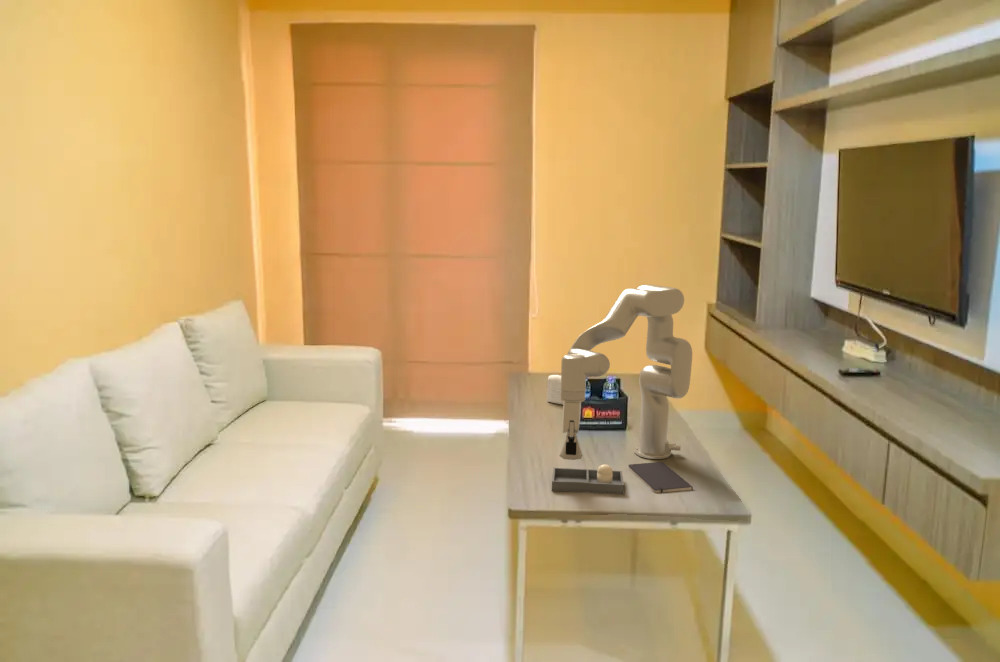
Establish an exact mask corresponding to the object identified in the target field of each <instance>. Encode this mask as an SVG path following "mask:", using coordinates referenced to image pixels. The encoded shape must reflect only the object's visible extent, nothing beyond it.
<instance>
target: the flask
mask: <svg viewBox="0 0 1000 662" xmlns="http://www.w3.org/2000/svg"><path fill="white" fill-rule="evenodd" d="M568 432H570V430H569V428H568ZM574 432H575V431H574ZM569 435H570V434H569ZM573 436H574V435H573ZM566 442H567V437H566V436H565V440H564V443H563V446H562V448H561V451H560V454H559V457H560V458H562V459H563V460H568V461H569V460H571V461H575V460H581V459H582V457H583V453H582V450H581V447H580V444H579V442H578V438H577V437H576V442H577V444H576V455H567V454H566Z"/></svg>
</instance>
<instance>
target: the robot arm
mask: <svg viewBox="0 0 1000 662" xmlns="http://www.w3.org/2000/svg"><path fill="white" fill-rule="evenodd" d="M684 304H685V295H684V293H683V292H682V290H680V289H679V288H677V287H671V286H670V287H669V286H662V285H656V284H642V285H638V287H637V288H632V287H631V288H629V287H628V288H626V289H624V290H623V291H622V292H620V294H619V296H618V297H617V299H616V300H615V302H614V303H613V305H612V306H611V308H610V309H609V311H608V312H607V314H606V315H605V316H604V318H603V319H602V320H601V321H600V322H598V323H596V324H594V325H593V326H591V327H589V328H588V329H586V330H585V331H583V332H581V334H580V335H578V337H577V338H576V339H575V340H574V342H573V343H572V345H571V346H570V348H569V350H568V351H567V354H565V355H563V356H562V358H561V367H560V371H561V374H560V375H561V397H560V399H561V400H562V401H564V404H563V407H562V431H561V432H562V433H563V434H565V433H566V436H565V438H566V437H567V442H566V454H567V455H576V444H577V442H576V437H577V434H578V433H579V429H580V422H581V411H582V403H583V402H585V401H586V387H587V386H586V385H587V384H586V383H587V382H586V381H587V379H586V378H600V377H602V376H604V375H606V374H607V372H608V371H609V370H610V365H611V362H610V359H609V358H608V356H606V355H605V354H603V353H601V352H597V351H594V350H592V349H594V348H595V347H597V346H598V345H601V344H603V343H604V344H605V343H607V342H612V341H616V340H620V339H622V338H624V337H625V336H626V335H627V333H628V332H629V330H630V329H631V327H632V326H633V324H634V322H635V321H636V319H637V318H638V317H639V316H640V317H645V318H646V320H647V332H646V335H647V336H646V344H645V345H646V347H645V351H646V353H645V354H646V357H647V359H649V360H651V361H653V362H656V363H660V364H663V365H668V366H669V365H670V367H666V366H662V365H658V364H649V365H645V366H644V367H643V368H642V369H641V370H640V373H639V376H638V379H639V380H638V383H639V384H638V385H639V390H640V418H639V419H640V420H639V422H640V423H639V439H638V440H639V441H638V445H636V446H635V447H634V448H633V449H634V454H636V455H637V456H638V457H641V458H645V459H649V460H662V459H667V458H669V457H671V456H672V451H675V452H676V451H681V444H677V443H675V442H673V443H671V442H669V441H668V425H669V412H670V411H669V410H670V404H669V400H668V398H671V399H682V398H684V397H685V396H687V394H688V392H689V389H690V385H691V375H692V366H693V348H692V345H691V343H690V342H689V341H688V340H686V339H684V338H681V337H677V336H676V337H675V336H674V319H673V315H675V314H677V313H679V312H681V310H682V309H683V307H684ZM568 428H569V430H570V432H568ZM574 431H575V432H574ZM569 434H570V435H569ZM573 435H574V436H573Z"/></svg>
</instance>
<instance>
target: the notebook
mask: <svg viewBox="0 0 1000 662" xmlns="http://www.w3.org/2000/svg"><path fill="white" fill-rule="evenodd" d="M628 469H629V470H630V471H631V472H632V473H633V475H635V476H636V477H637V478H638V479H639V480H640V481H641V482H642V483H643V484H645V486H646V487H648V488H649V490H651V491H652V492H653V493H656V494H659V493H667V492H679V491H690V490H693V485H691V484H690V483H689V482H688V481H686V480H685V479H684V478H683V477H681V475H679V474H678V473H677V472H676V471H674V470H673V469H672V468H671V467H669V466H668V464H666V463H665V462H663V461H655V462H645V463H642V462H641V463H633V464H628Z"/></svg>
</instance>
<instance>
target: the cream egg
mask: <svg viewBox="0 0 1000 662" xmlns="http://www.w3.org/2000/svg"><path fill="white" fill-rule="evenodd" d="M596 470H597V483H609V484H612V477H613V471H614V470H613V467H611V465H608V464H607V463H605V464H600V465H599V466H598V468H597V469H596Z"/></svg>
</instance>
